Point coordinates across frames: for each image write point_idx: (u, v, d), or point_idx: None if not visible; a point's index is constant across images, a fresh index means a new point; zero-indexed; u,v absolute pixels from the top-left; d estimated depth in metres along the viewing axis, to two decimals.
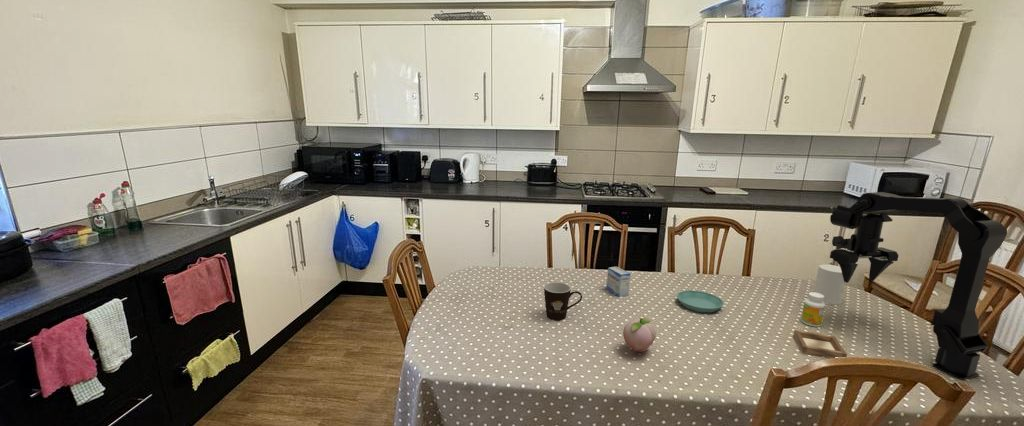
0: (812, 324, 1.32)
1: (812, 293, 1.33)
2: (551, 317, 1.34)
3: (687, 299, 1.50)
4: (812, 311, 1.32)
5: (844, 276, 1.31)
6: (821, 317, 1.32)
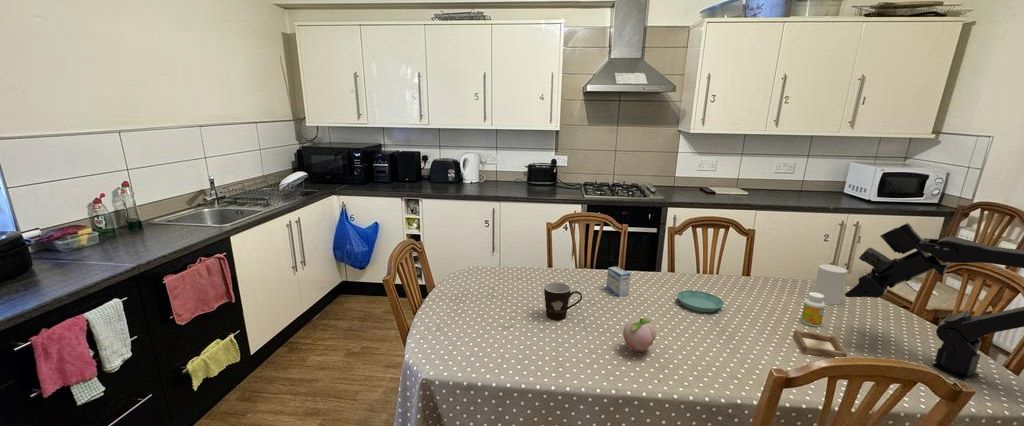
0: (812, 324, 1.32)
1: (812, 293, 1.33)
2: (551, 317, 1.34)
3: (687, 299, 1.50)
4: (812, 311, 1.32)
5: (850, 292, 1.21)
6: (821, 317, 1.32)
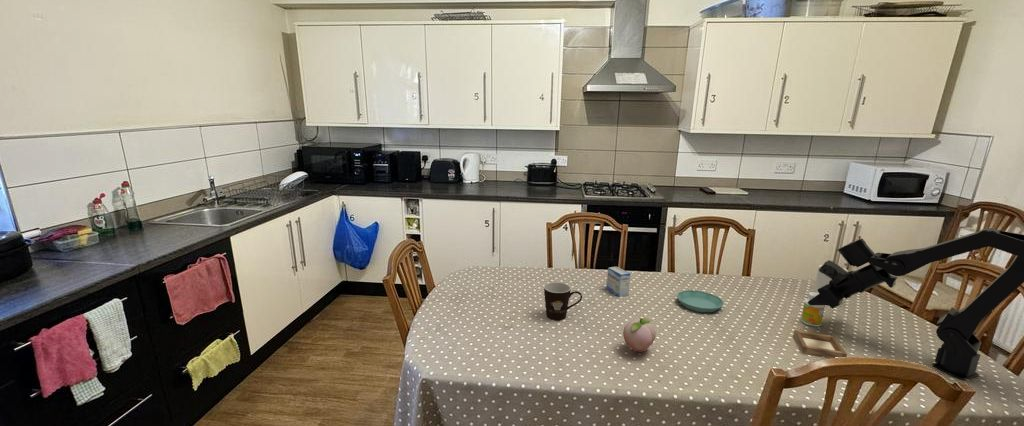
0: (812, 324, 1.32)
1: (812, 293, 1.33)
2: (551, 317, 1.34)
3: (687, 299, 1.50)
4: (812, 310, 1.32)
5: (812, 301, 1.30)
6: (821, 317, 1.32)
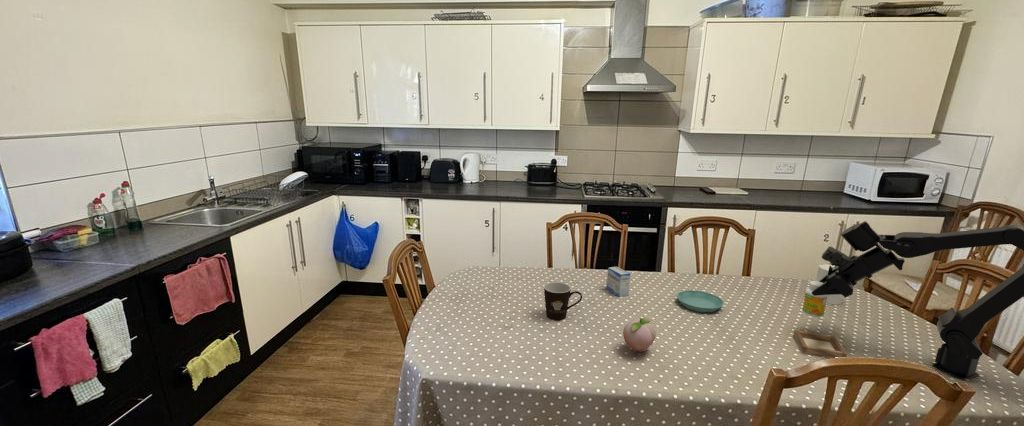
0: (816, 315, 1.25)
1: (813, 282, 1.26)
2: (551, 317, 1.34)
3: (687, 299, 1.50)
4: (816, 301, 1.24)
5: (818, 291, 1.23)
6: (824, 307, 1.25)
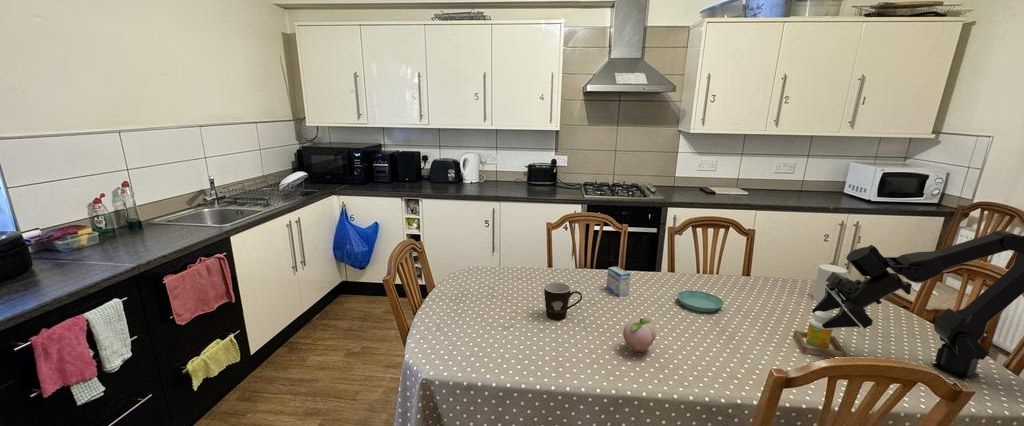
0: (824, 348, 1.17)
1: (818, 313, 1.18)
2: (551, 317, 1.34)
3: (687, 299, 1.50)
4: (825, 334, 1.16)
5: (829, 323, 1.13)
6: (830, 338, 1.18)
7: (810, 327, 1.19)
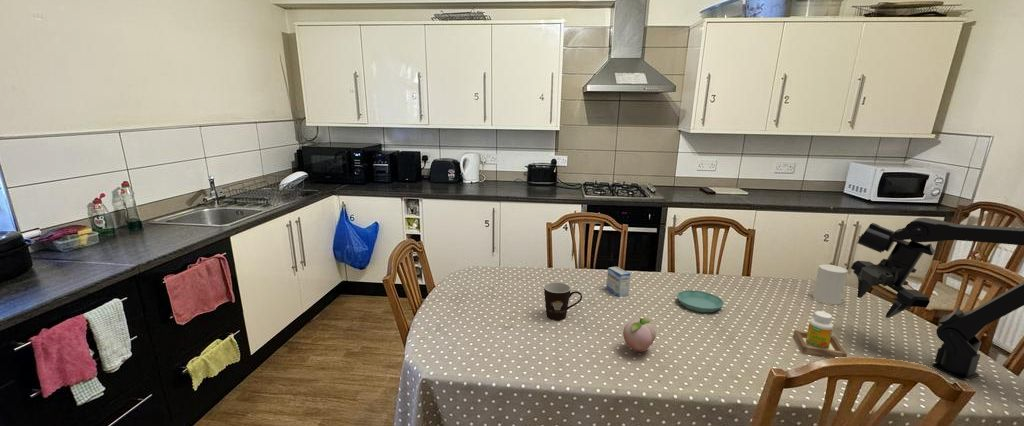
0: (824, 348, 1.17)
1: (818, 313, 1.18)
2: (551, 317, 1.34)
3: (687, 299, 1.50)
4: (825, 334, 1.16)
5: (892, 313, 1.16)
6: (830, 338, 1.18)
7: (810, 327, 1.19)
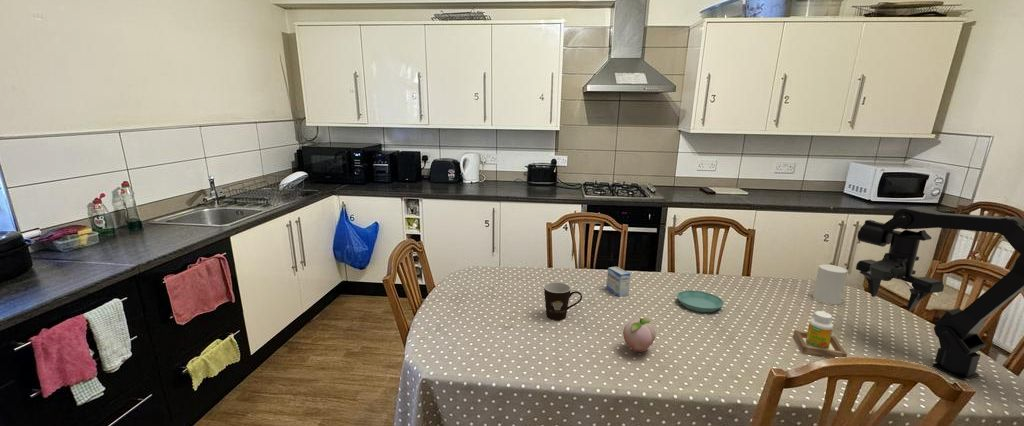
0: (824, 348, 1.17)
1: (818, 313, 1.18)
2: (551, 317, 1.34)
3: (686, 299, 1.50)
4: (825, 334, 1.16)
5: (913, 305, 1.16)
6: (830, 338, 1.18)
7: (810, 327, 1.19)
